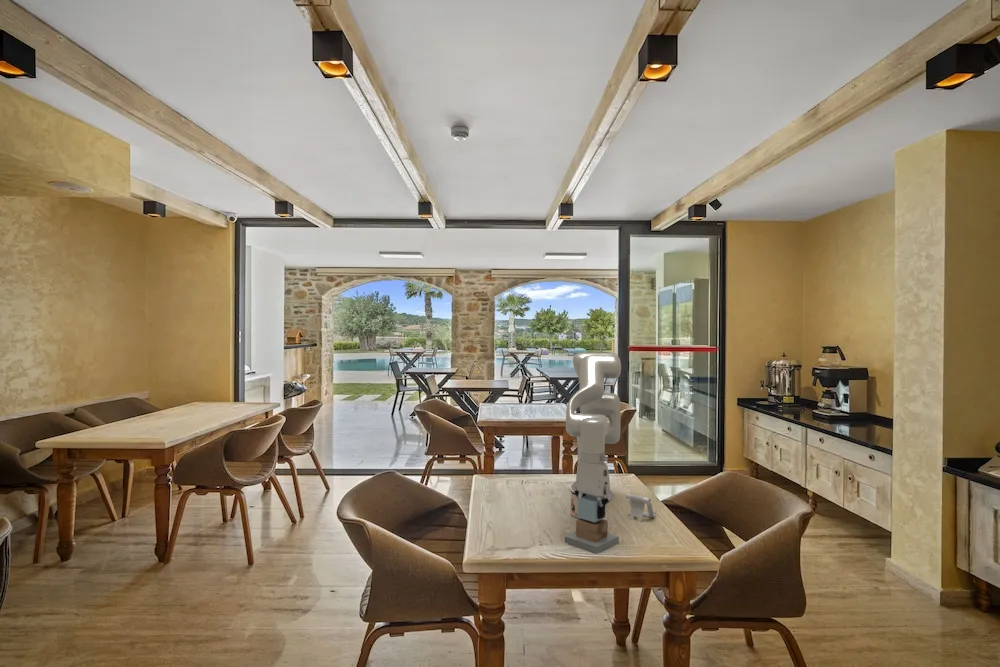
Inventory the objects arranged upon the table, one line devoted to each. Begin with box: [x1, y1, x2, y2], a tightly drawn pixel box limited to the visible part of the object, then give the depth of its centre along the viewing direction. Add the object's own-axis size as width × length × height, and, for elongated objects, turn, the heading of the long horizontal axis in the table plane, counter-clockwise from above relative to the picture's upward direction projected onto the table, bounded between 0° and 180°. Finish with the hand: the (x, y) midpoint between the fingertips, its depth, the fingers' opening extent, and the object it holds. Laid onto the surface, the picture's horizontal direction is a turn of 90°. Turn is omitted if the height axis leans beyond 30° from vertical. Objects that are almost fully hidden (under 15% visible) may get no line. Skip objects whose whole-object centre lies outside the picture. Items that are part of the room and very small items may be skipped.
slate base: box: [564, 530, 620, 555], centre depth 164 cm, size 12×12×2 cm
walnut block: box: [575, 518, 608, 542], centre depth 164 cm, size 7×7×5 cm
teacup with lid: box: [570, 488, 588, 519], centre depth 188 cm, size 12×9×12 cm
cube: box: [577, 495, 606, 522], centre depth 164 cm, size 6×6×6 cm
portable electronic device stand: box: [625, 492, 658, 523], centre depth 188 cm, size 9×8×8 cm
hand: (591, 514), depth 164 cm, fingers closed on cube, 6 cm apart
